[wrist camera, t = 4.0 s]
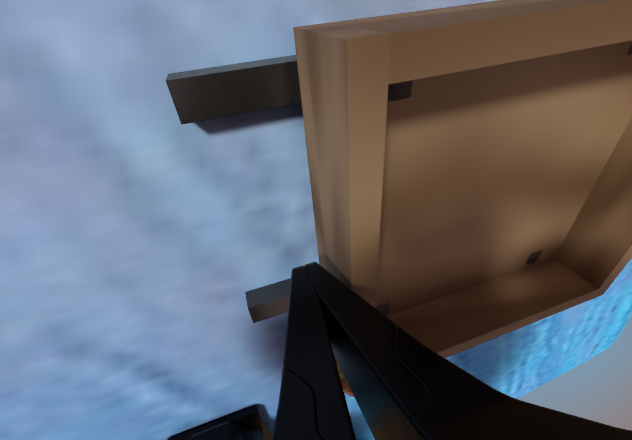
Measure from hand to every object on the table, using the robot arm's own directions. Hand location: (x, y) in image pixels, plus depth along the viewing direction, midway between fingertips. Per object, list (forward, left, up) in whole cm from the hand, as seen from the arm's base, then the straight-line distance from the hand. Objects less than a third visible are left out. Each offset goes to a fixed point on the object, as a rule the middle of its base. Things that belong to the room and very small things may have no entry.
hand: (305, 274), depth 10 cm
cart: (0, -8, -3) cm, 9 cm away
